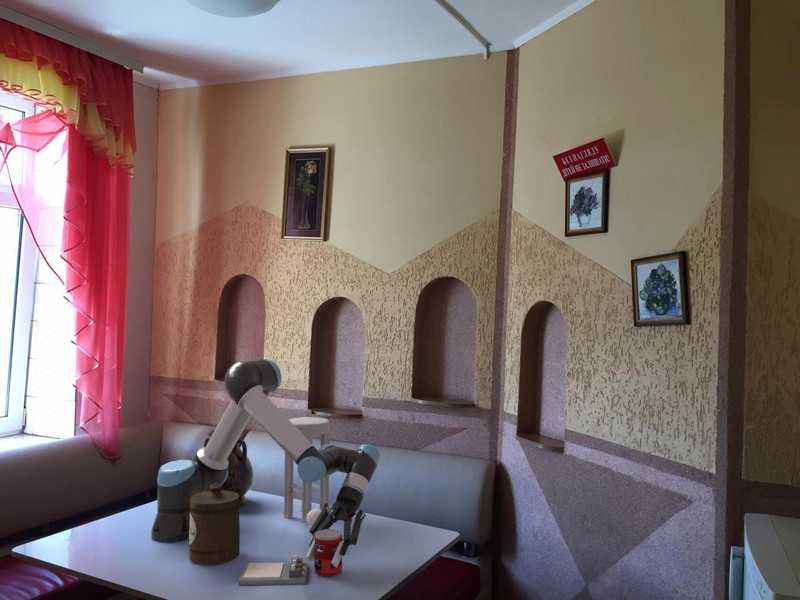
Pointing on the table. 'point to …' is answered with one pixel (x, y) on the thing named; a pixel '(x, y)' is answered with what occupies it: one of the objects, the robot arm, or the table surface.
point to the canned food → (326, 552)
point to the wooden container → (214, 527)
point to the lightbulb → (312, 517)
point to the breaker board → (275, 573)
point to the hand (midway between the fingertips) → (321, 562)
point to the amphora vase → (237, 470)
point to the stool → (307, 428)
